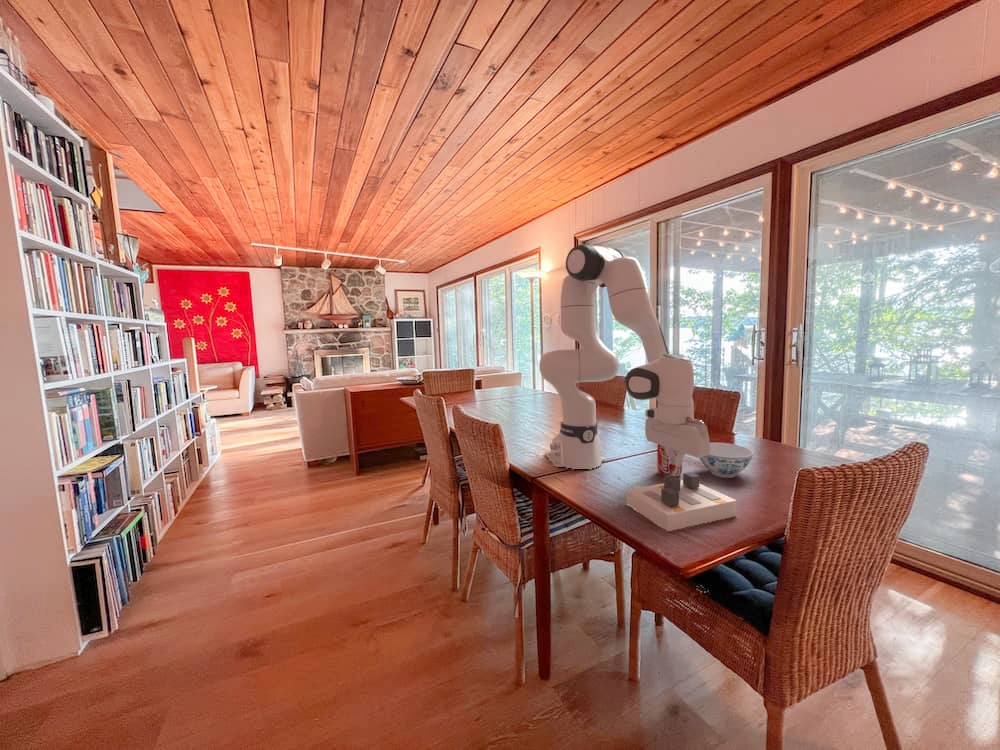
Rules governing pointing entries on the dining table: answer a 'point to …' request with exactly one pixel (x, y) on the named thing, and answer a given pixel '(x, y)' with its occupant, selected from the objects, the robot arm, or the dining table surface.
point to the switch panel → (682, 506)
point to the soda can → (666, 463)
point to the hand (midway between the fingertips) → (675, 464)
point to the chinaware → (727, 459)
